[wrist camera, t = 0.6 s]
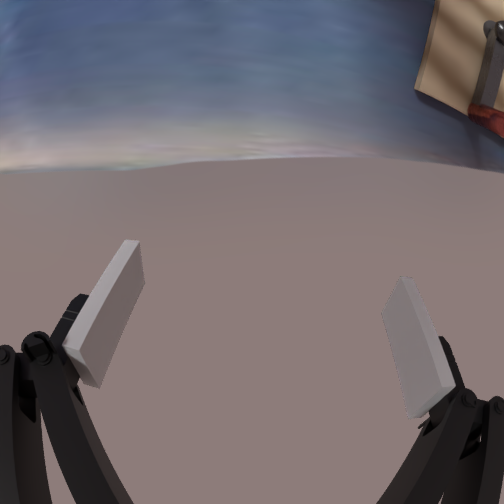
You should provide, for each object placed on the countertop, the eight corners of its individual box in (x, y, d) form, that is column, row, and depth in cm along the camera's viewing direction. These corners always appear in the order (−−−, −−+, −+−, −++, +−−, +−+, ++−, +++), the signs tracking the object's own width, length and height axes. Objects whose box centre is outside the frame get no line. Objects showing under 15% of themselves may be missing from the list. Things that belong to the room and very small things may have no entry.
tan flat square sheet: (441, -42, 18) (448, -45, 16) (544, 37, 19) (552, 38, 17) (413, 88, 31) (420, 90, 29) (517, 148, 32) (525, 152, 30)
